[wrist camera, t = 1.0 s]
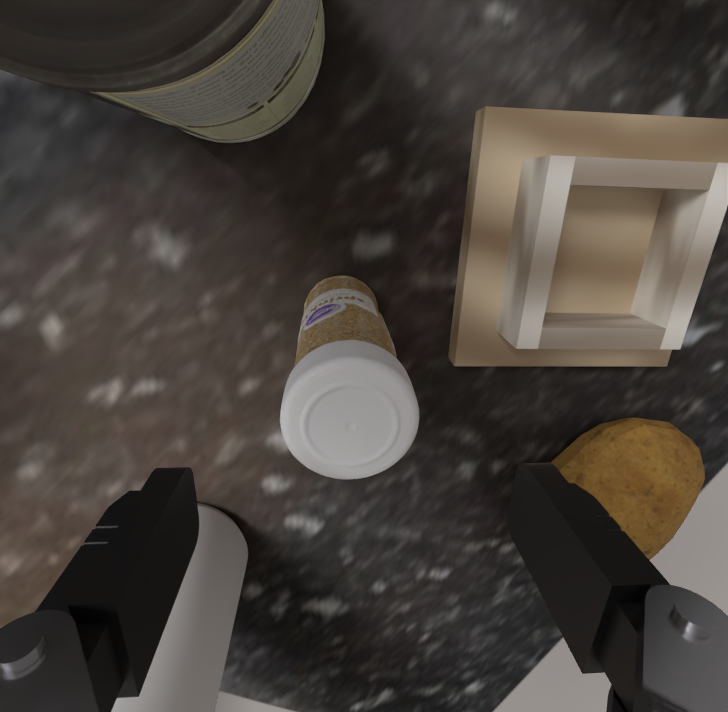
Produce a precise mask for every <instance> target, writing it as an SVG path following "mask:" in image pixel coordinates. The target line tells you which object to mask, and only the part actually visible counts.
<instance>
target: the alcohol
mask: <svg viewBox="0 0 728 712" xmlns="http://www.w3.org/2000/svg"><path fill="white" fill-rule="evenodd" d="M197 506H198V513H199V534H198V540H197V544H196V547H195V550H194V553H193V555H192V558H191V560H190V563H189V566H188V568H187V571H186V574H185V576H184V579H183V582H182V584H181V587H180V589H179V592H178V595H177V597H176V600H175V603H174V605H173V608H172V611H171V613H170V616H169V618H168V621H167V624H166V626H165V629H164V632H163V634H162V637H161V640H160V642H159V645H158V647H157V650H156V653H155V655H154V658H153V661H152V663H151V666H150V669H149V671H148V674H147V676H146V679H145V682H144V684H143V687H142V690H141V692H140V695H139V697H126V698H117V699H116V701H115V704H114V706H113V708H112V711H111V712H214V711H215V707H216V702H217V698H218V693H219V689H220V684H221V680H222V675H223V670H224V666H225V661H226V657H227V652H228V648H229V643H230V639H231V634H232V629H233V625H234V620H235V616H236V611H237V607H238V602H239V597H240V593H241V588H242V584H243V579H244V575H245V570H246V566H247V561H248V548H247V543H246V541H245V539H244V536H243V534H242V533H241V531H240V529H239V528H238V526H237V525H236V524H235V522H234V521H233V520H232V519H231V518H230V517H229V516H227V515H226V514H225V513H223V512H222V511H220V510H218V509H217V508H214V507H211V506H209V505H206V504H202V503H197Z"/></svg>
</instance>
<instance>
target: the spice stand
mask: <svg viewBox="0 0 728 712" xmlns="http://www.w3.org/2000/svg"><path fill="white" fill-rule="evenodd" d="M727 206H728V119H714V118H695V117H676V116H657V115H638V114H620V113H601V112H582V111H563V110H544V109H525V108H506V107H487V106H486V107H484V108H482V109H480V110H478V111H476V116H475V125H474V134H473V143H472V151H471V160H470V169H469V178H468V186H467V195H466V204H465V213H464V221H463V230H462V239H461V248H460V256H459V265H458V274H457V283H456V291H455V300H454V309H453V318H452V326H451V335H450V344H449V353H448V358H449V359H450V361H451V362H452V364H453V365H454V366H667V364H668V361H669V358H670V355H671V352H672V349H680V348H681V345H682V342H683V339H684V336H685V333H686V330H687V327H688V324H689V321H690V318H691V315H692V312H693V309H694V306H695V303H696V300H697V297H698V294H699V291H700V288H701V285H702V282H703V279H704V276H705V273H706V270H707V266H708V263H709V260H710V257H711V254H712V251H713V248H714V245H715V242H716V239H717V236H718V233H719V230H720V227H721V224H722V221H723V218H724V215H725V212H726V209H727Z"/></svg>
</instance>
